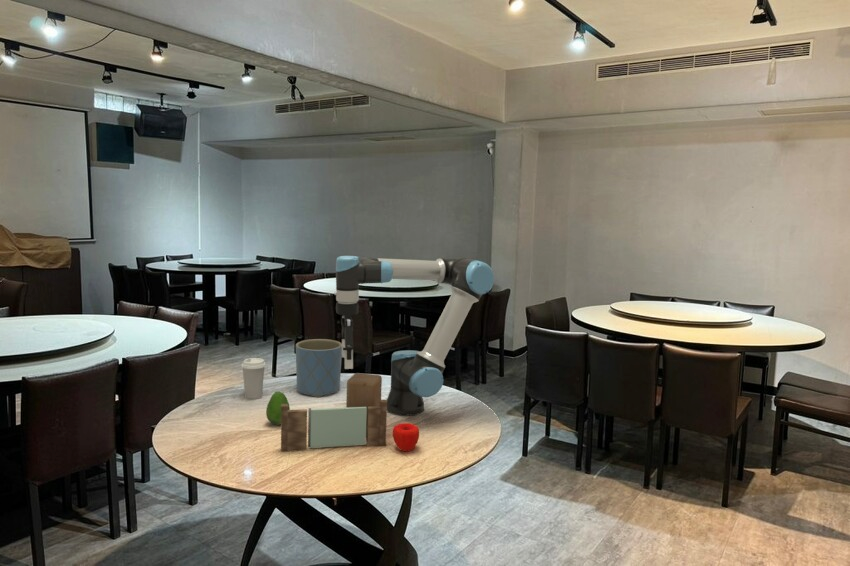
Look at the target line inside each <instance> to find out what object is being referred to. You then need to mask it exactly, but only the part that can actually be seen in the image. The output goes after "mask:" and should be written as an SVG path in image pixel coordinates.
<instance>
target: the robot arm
mask: <svg viewBox="0 0 850 566" xmlns="http://www.w3.org/2000/svg"><path fill="white" fill-rule="evenodd" d="M392 280H405V281H406V280H411V281H413V280H415V281H435V282H436V283H437V284H445V285H449V286H450V290H451V295H450V296H449V299H448V301H447V302H446V304H445V307H444V308H443V311H442V313H441V315H440V316H439V318H438V320H437V322H436V323H435V326H434V328H433V330H432V332H431V334H430V336H429V338H428V340H427V342H426V344H425V345H424V348H423V349H422V350H421V351H419V350H411V349H410V350H397V351H394V352H393V353H392V354H391V360H390V363H391V365H390V366H391V367H390V389H389V393H388V395H387V397H386V401H387V413H389V414H392V415H395V416H396V415H397V416H414V415H419V414H421V413H423V412H424V411H425V402H424V398H431V397H433V396H435V395H437V394H438V393H439V391H440V390H441V389H442V387H443V385H444V376H443V373H444V370H445V368H446V365H445V359H446V358H447V356H448V353H449V351H450V349H451V348H452V345H453V343H454V342H455V339H456V338H457V336H458V333H459V332H460V330H461V327H462V326H463V324H464V322H465V320H466V318H467V316H468V313H469V312H470V310H471V309H472V306H473V304H474V303H477V302H479V301H480V299H481V297H482V296H483V295H485V294H487V293H489V291H491V289H492V288H493V286H494V282H495V275H494V272H493V269H492V268H491V266H490V265H489V264H488V263H486V262H484V261H481V260H478V259H477V260H475V259H470V258H467V257H466V258H465V257H455V258H454V257H453V258H452V257H451V258H439V257H438V258H437V259H436V260H427V259H426V260H425V259H406V258H405V259H403V258H402V259H401V258H400V259H399V258H379V257H378V258H377V257H376V258H375V257H365V256H355V255H340V256H338V257H337V258H336V260H335V286H336V287H335V291H336V292H334V293H333V294H334V296H335V300H336V303H335V312H336V314H337V315H341V318H340V323H341V343H342V358H344V370H349V369H351V370H353V369H354V323H355V322H354V320H355V319H354V318H353V317H352V315H358V314H359V299H360V296H359V295H360V294H359V291H360V289H359V288H360V287H359V285H364V284H385V283H390V282H392Z"/></svg>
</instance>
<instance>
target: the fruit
mask: <svg viewBox="0 0 850 566" xmlns="http://www.w3.org/2000/svg"><path fill="white" fill-rule="evenodd" d="M281 404H288V410H291V408H290V403H289V401H288V398H287V397H286V394H284V392H282V391H275V392H274V393H273V394H272V395H271V397H270V399H269V401H268V403H267V406H266V413H265V414H266V419H267V420H268V421H269V422H270V423H271V424H272V425H276V426H281Z"/></svg>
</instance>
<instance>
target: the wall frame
mask: <svg viewBox="0 0 850 566" xmlns="http://www.w3.org/2000/svg"><path fill="white" fill-rule="evenodd" d="M387 414H388V411H387V399H381V400H380V406H369V407H368V420H367V438H366V446H367V447H375V446H376V447H377V446H378V447H383V446H386V445H387ZM307 448H308V409H307V408H305V409H303V408H302V409H301V408H300V409H290V410H288V404H281V424H280V452H281V453H284V452H285V453H286V452H292V451H293V452H294V451H307V450H308V449H307Z"/></svg>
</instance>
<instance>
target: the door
mask: <svg viewBox="0 0 850 566" xmlns="http://www.w3.org/2000/svg"><path fill="white" fill-rule="evenodd" d="M366 414H367V408H366V407H347V408H346V407H334V408H333V407H331V408H330V407H328V408H325V407H324V408H311V407H309V408H308V415H307V448H310V449H311V448H313V449H314V448H331V447H333V448H334V447H344V446H345V447H347V446H348V447H349V446H363V445H366V446H367V438H366Z"/></svg>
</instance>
